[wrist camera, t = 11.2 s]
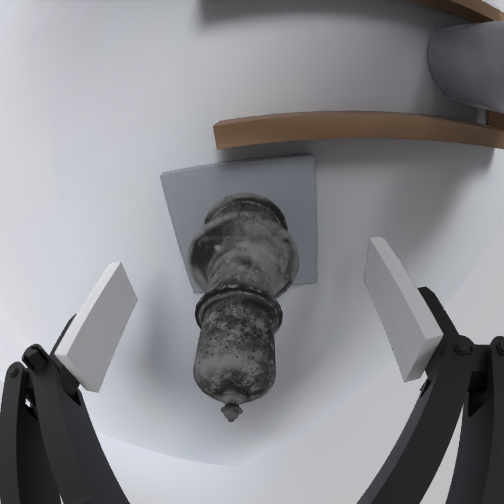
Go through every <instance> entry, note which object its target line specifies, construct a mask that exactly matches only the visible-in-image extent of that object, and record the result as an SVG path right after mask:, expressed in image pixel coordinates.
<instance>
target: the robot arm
mask: <svg viewBox="0 0 504 504" xmlns="http://www.w3.org/2000/svg"><path fill="white" fill-rule="evenodd" d="M364 282H365V284H366V286H367V289H368V291H369V293H370V295H371V298H372V300H373V302H374V305H375V307H376V309H377V312H378V314H379V317H380V319H381V321H382V324H383V326H384V329H385V331H386V334H387V337H388V339H389V342H390V344H391V347H392V350H393V352H394V355H395V358H396V361H397V363H398V366H399V369H400V371H401V375H402V378H403V381H404V382H407V381H411V380H415V379H418V378H420V377H421V376H422V374H423V372H424V370H425V371H426V374H427V377H428V378H427V379H426V381H425V383H424V384H423V386H422V388H421V389H420V391H421V393H420V396H419V398H418V400H417V402H416V405H415V407H414V409H413V411H412V413H411V415H410V417H409V419H408V421H407V423H406V426H405V427H404V429H403V431H402V433H401V435H400V437H399V439H398V440H397V442H396V444H395V446H394V448H393V449H392V451H391V453H390V455H389V456H388V458H387V460H386V461H385V463H384V465H383V466H382V468H381V469H380V471H379V473H378V474H377V475H376V477H375V478H374V480H373V481H372V483H371V484H370V486H369V487H368V489H367V490H366V491H365V493H364V494H363V496H362V497H361V498H360V500H359V501H358V502H357V504H419V503H420V501H421V500H422V498H423V496H424V495H425V493H426V491H427V489H428V488H429V486H430V484H431V482H432V480H433V478H434V476H435V474H436V472H437V470H438V468H439V466H440V464H441V461H442V459H443V457H444V455H445V452H446V450H447V448H448V445H449V443H450V440H451V438H452V435H453V432H454V430H455V427H456V424H457V422H458V419H459V416H460V413H461V409H462V406H463V416H462V426H461V434H460V441H459V447H458V453H457V459H456V464H455V469H454V474H453V477H452V482H451V486H450V490H449V493H448V497H447V500H446V504H504V337H503V336H497V337H495V338H494V339H493V340H492V342H491V344H490V345H475V344H474V343H473V342H472V341H471V340H470V339H469V338H467V337H465V336H462V335H459V334H458V332H457V330H456V328H455V327H454V325H453V323H452V321H451V320H450V318H449V316H448V315H447V313H446V311H445V310H444V308H443V306H442V305H441V303H440V301H439V300H438V298H437V297H436V295H435V294H434V293H433V292H432V291H431V290H430V289H428V288H427V287H421V288H417V287H416V286H415V284H414V282H413V281H412V279H411V278H410V276H409V274H408V273H407V271H406V270H405V268H404V267H403V265H402V264H401V262H400V261H399V259H398V258H397V256H396V255H395V253H394V252H393V250H392V249H391V247H390V246H389V244H388V243H387V242H386V240H385V239H384V237H383V236H380V237H369V244H368V254H367V262H366V271H365V278H364ZM137 300H138V299H137V297H136V295H135V293H134V291H133V288H132V286H131V284H130V282H129V280H128V277H127V275H126V273H125V270H124V268H123V266H122V263H121V262H114V263H110V264H109V265H108V267H107V268H106V269H105V271H104V272H103V274H102V275H101V277H100V278H99V280H98V281H97V283H96V284H95V286H94V287H93V289H92V290H91V292H90V294H89V295H88V297H87V298H86V300H85V301H84V303H83V305H82V306H81V308H80V310H79V311H78V313H77V314H75V315H74V316H73V317H72V318H71V319H70V320H69V321H68V323H67V325H66V326H65V329H64V330H63V331H62V333H61V336H60V337H59V338H58V340H57V342H56V344H55V345H54V347H53V349H52V351H51V353H50V355H48V354H47V353H46V352H45V350H44V349H43V348H42V347H41V346H40V345H39V344H34V345H31V346H30V347H28V348H27V349H26V351H25V352H24V354H23V356H22V361H23V362H24V363H25V365H26V366H27V367H28V368H25V367H24V366H23V364H22V363H20V362H15V363H13V364H11V365H10V366H9V368H8V370H7V373H6V377H5V383H4V389H3V395H2V403H1V412H0V500H1V504H61V499H60V495H61V498H62V501H63V503H64V504H130V503H129V501H128V499H127V498H126V496H125V494H124V493H123V491H122V489H121V487H120V485H119V483H118V481H117V479H116V477H115V476H114V473H113V471H112V469H111V467H110V465H109V463H108V461H107V459H106V457H105V455H104V452H103V450H102V448H101V445H100V443H99V441H98V438H97V436H96V433H95V431H94V428H93V425H92V423H91V420H90V417H89V414H88V412H87V409H86V406H85V403H84V400H83V396H82V393H81V392H80V390H79V389H78V387H79V384H81V385H82V386H83V387H84V388H85V389H86V390H87V391H92V392H99V390H100V387H101V384H102V382H103V379H104V377H105V374H106V371H107V369H108V366H109V364H110V361H111V359H112V357H113V354H114V352H115V349H116V347H117V345H118V342H119V340H120V338H121V335H122V333H123V331H124V328H125V326H126V324H127V322H128V319H129V317H130V315H131V313H132V311H133V309H134V306H135V304H136V302H137ZM26 399H27V400H28V401H29V402H30V407H29V406H27V405H26V404H25V402H26ZM463 403H464V404H463ZM59 493H60V494H59Z"/></svg>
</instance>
